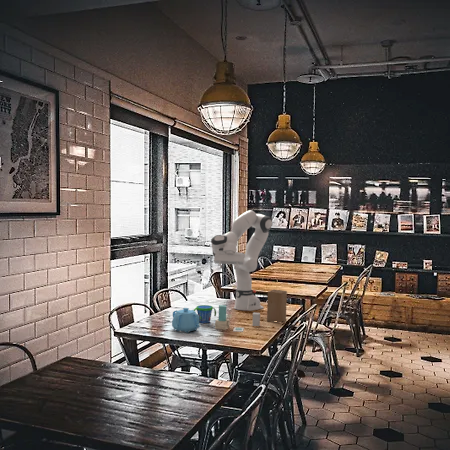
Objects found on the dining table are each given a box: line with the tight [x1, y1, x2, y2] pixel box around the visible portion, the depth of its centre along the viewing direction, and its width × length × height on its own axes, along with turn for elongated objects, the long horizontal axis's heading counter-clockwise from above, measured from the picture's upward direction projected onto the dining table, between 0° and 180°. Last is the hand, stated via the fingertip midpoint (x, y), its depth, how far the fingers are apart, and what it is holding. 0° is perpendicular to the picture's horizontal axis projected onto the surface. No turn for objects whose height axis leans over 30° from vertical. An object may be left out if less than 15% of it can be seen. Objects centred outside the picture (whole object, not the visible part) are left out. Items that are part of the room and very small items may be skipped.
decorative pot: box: [171, 307, 201, 334], centre depth 307 cm, size 16×16×14 cm
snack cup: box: [193, 304, 217, 324], centre depth 329 cm, size 16×10×10 cm
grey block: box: [252, 312, 261, 326], centre depth 323 cm, size 4×4×8 cm
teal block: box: [217, 304, 227, 321], centre depth 315 cm, size 4×4×9 cm
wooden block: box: [266, 289, 288, 323], centre depth 337 cm, size 10×10×20 cm
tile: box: [232, 327, 245, 333], centre depth 311 cm, size 9×6×1 cm, turn 174°
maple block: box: [214, 318, 231, 331], centre depth 315 cm, size 7×7×5 cm
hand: (228, 268), depth 337 cm, fingers open, 8 cm apart
